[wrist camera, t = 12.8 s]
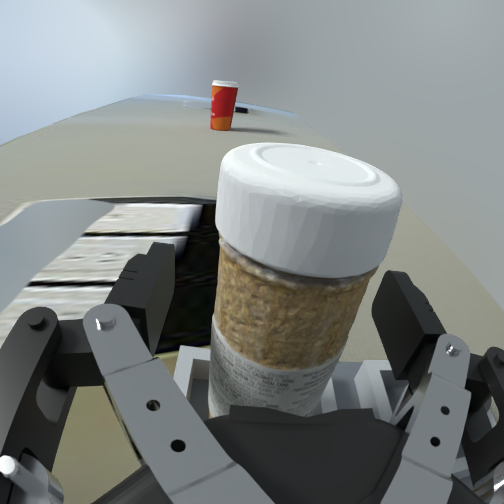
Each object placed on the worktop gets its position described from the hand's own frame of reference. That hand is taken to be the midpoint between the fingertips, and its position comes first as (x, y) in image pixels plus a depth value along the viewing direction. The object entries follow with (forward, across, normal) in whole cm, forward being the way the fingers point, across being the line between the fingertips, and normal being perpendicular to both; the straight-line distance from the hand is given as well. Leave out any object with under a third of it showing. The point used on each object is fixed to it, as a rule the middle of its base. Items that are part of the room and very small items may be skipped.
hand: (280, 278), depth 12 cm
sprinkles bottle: (-2, 0, +9) cm, 9 cm away
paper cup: (+83, +10, +10) cm, 84 cm away
